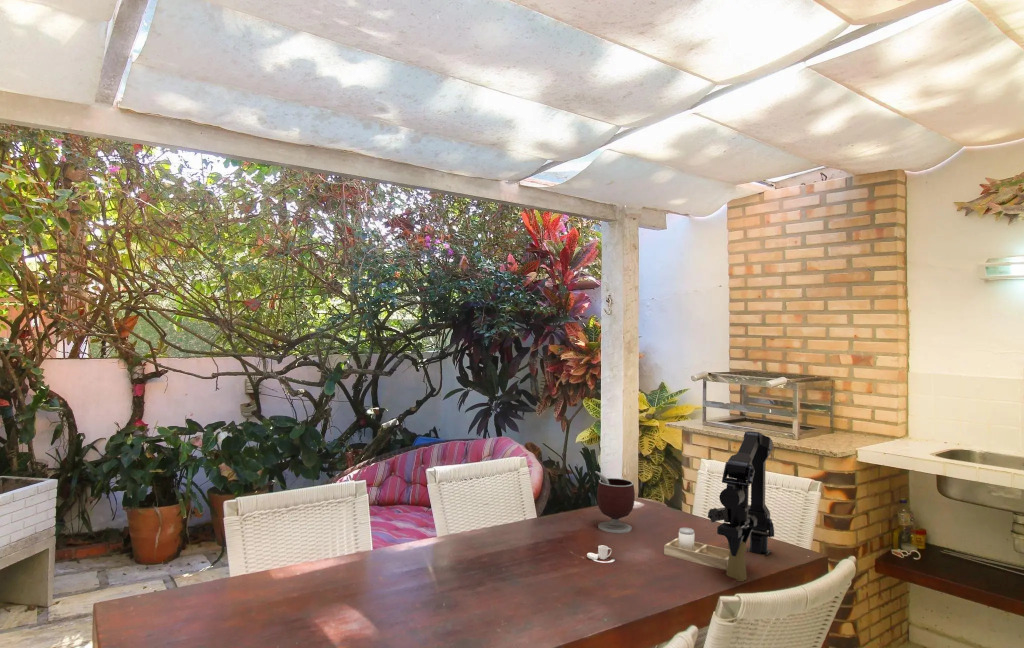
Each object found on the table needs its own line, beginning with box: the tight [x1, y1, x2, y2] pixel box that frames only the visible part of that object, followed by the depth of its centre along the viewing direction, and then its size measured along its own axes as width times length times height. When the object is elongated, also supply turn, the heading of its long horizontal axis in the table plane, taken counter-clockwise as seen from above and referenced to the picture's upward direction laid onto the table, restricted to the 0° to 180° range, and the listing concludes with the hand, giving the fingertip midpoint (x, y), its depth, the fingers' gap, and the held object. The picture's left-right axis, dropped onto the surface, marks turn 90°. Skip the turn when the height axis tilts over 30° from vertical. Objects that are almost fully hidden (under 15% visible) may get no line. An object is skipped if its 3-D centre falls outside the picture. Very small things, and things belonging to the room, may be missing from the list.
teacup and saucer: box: [586, 544, 616, 564], centre depth 205 cm, size 9×8×4 cm
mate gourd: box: [594, 471, 636, 534], centre depth 239 cm, size 16×14×20 cm
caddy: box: [663, 537, 730, 571], centre depth 207 cm, size 11×20×4 cm, turn 52°
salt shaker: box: [678, 527, 696, 551], centre depth 210 cm, size 5×5×8 cm
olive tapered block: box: [725, 541, 748, 582], centre depth 193 cm, size 6×6×11 cm
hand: (736, 553), depth 193 cm, fingers closed on olive tapered block, 5 cm apart
